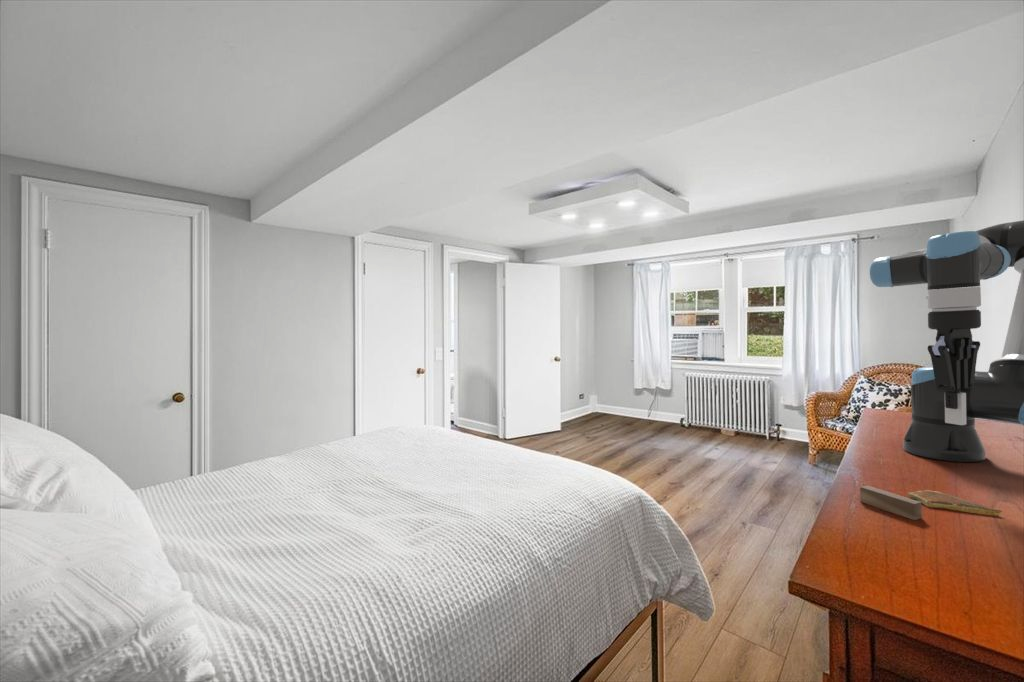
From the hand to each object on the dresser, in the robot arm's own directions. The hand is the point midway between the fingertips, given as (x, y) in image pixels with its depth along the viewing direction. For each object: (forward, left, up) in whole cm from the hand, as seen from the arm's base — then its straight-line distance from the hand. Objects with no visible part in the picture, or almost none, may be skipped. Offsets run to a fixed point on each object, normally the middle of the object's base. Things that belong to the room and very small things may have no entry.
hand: (955, 423), depth 88 cm
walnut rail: (+21, 0, -14) cm, 25 cm away
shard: (+8, +3, -15) cm, 17 cm away
